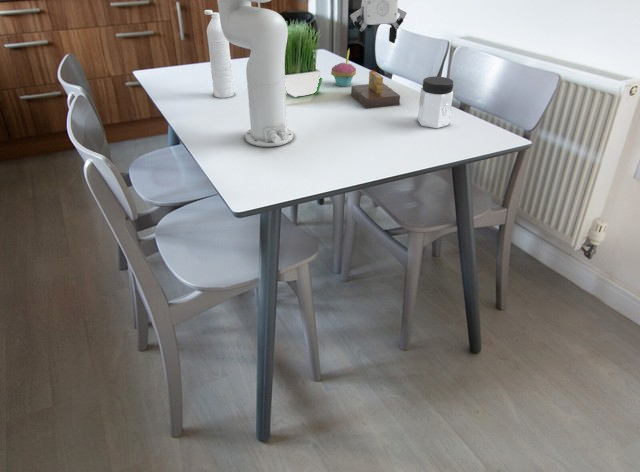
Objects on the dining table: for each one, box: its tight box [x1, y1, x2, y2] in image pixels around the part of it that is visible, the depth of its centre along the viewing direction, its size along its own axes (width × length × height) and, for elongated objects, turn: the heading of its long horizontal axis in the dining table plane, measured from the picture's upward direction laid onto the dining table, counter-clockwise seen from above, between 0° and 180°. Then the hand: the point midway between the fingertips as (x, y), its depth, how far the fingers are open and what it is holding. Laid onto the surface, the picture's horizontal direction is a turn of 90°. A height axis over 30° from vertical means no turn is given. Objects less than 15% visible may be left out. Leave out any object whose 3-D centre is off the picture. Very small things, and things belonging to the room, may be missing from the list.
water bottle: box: [203, 9, 235, 99], centre depth 158 cm, size 9×6×25 cm
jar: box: [417, 76, 454, 129], centre depth 139 cm, size 9×8×12 cm
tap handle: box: [368, 70, 384, 94], centre depth 157 cm, size 7×2×5 cm, turn 17°
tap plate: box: [350, 83, 401, 109], centre depth 159 cm, size 14×11×3 cm
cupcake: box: [330, 47, 357, 87], centre depth 171 cm, size 9×8×12 cm
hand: (377, 43), depth 151 cm, fingers open, 9 cm apart
